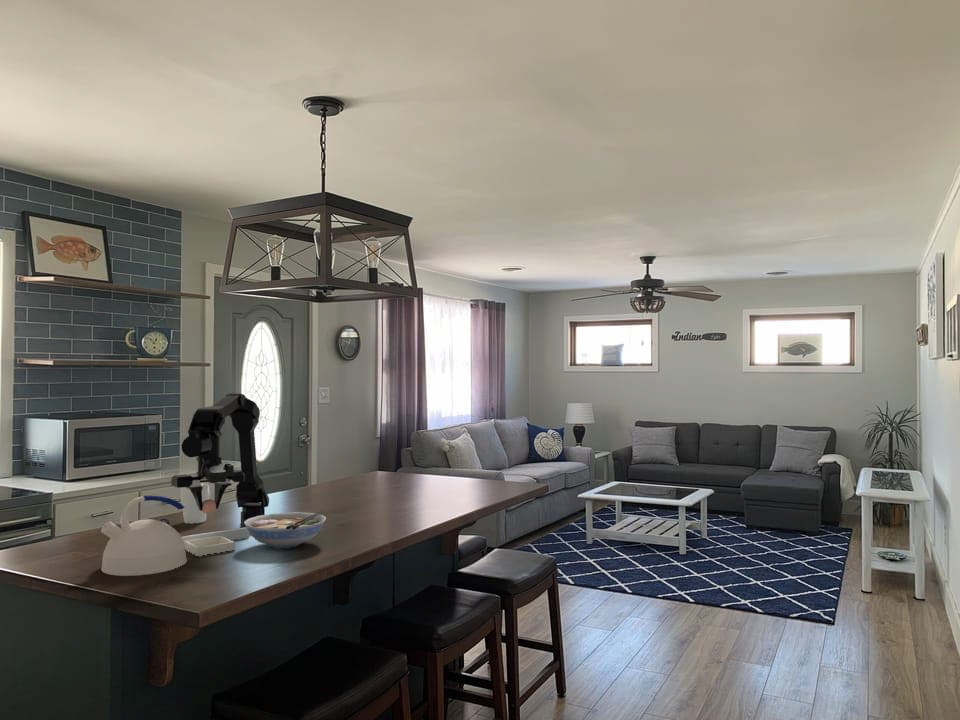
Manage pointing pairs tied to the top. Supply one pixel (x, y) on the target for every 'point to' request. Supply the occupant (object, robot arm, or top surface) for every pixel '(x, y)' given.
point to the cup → (193, 505)
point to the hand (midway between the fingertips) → (208, 509)
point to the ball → (208, 506)
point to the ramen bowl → (285, 528)
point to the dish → (209, 545)
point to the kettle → (142, 544)
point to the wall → (221, 534)
